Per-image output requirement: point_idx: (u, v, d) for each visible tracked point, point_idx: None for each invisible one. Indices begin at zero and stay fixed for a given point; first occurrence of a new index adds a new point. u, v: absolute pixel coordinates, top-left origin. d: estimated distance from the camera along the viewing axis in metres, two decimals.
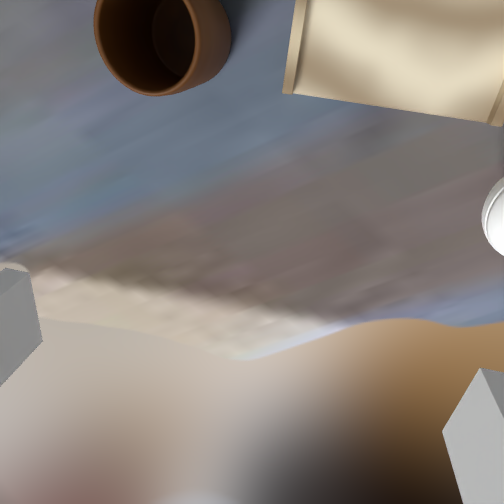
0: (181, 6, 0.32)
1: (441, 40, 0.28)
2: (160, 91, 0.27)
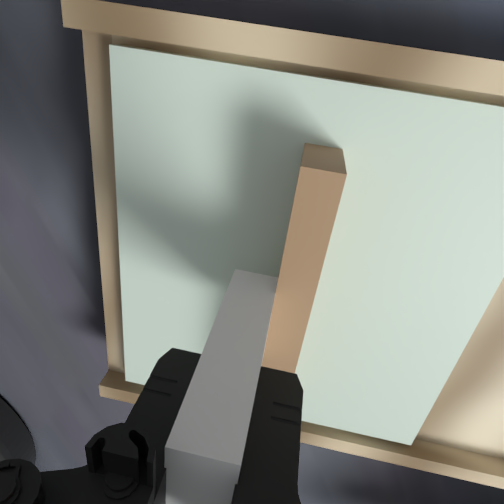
0: None
1: None
2: None
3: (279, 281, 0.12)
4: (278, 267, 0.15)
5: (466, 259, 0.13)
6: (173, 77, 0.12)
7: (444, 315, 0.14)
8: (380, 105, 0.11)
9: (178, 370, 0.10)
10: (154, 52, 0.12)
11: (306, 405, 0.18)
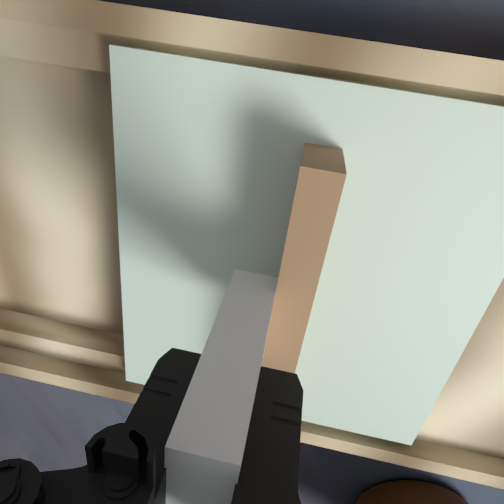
0: None
1: None
2: None
3: (279, 281, 0.12)
4: (278, 267, 0.15)
5: (466, 259, 0.13)
6: (173, 77, 0.12)
7: (444, 315, 0.14)
8: (380, 105, 0.11)
9: (178, 370, 0.10)
10: (154, 52, 0.12)
11: (306, 405, 0.18)
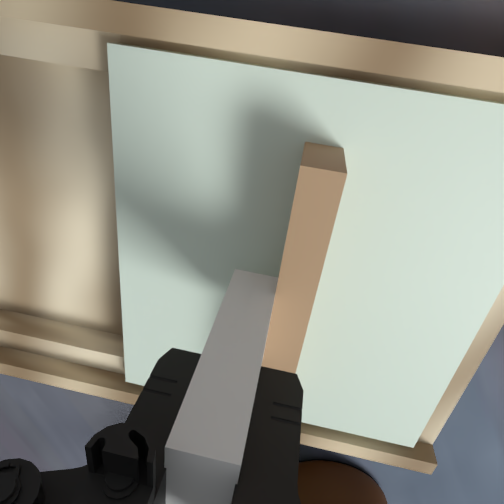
0: None
1: None
2: None
3: (279, 282, 0.12)
4: (278, 267, 0.14)
5: (469, 259, 0.13)
6: (172, 75, 0.12)
7: (447, 316, 0.14)
8: (381, 103, 0.11)
9: (178, 370, 0.10)
10: (152, 50, 0.12)
11: (307, 407, 0.18)
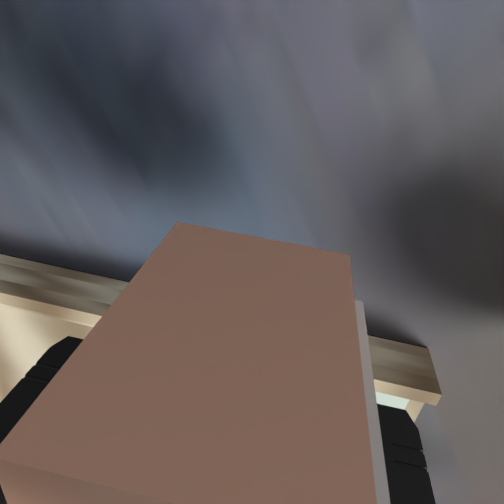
0: None
1: None
2: None
3: None
4: None
5: None
6: None
7: None
8: None
9: (67, 358, 0.10)
10: None
11: None
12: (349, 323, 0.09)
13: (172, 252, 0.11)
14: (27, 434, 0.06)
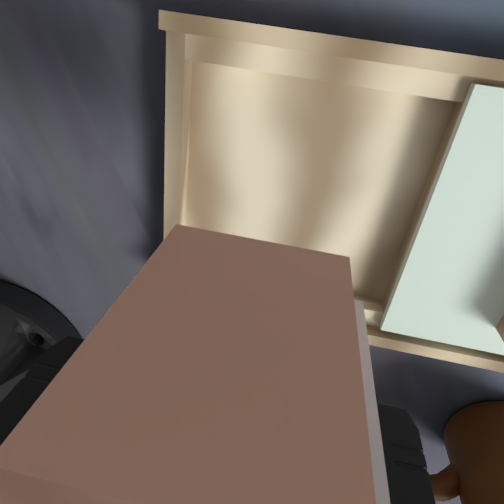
0: None
1: None
2: None
3: None
4: None
5: None
6: None
7: None
8: None
9: (67, 358, 0.10)
10: None
11: None
12: (349, 327, 0.09)
13: (171, 255, 0.11)
14: (23, 441, 0.06)
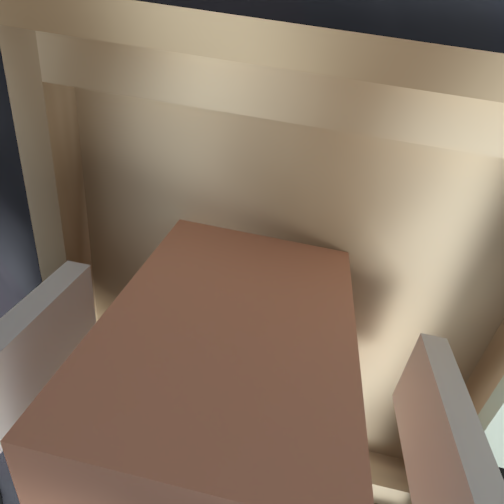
0: None
1: None
2: None
3: None
4: None
5: None
6: None
7: None
8: None
9: None
10: None
11: None
12: (347, 319, 0.09)
13: (174, 248, 0.11)
14: (35, 420, 0.06)
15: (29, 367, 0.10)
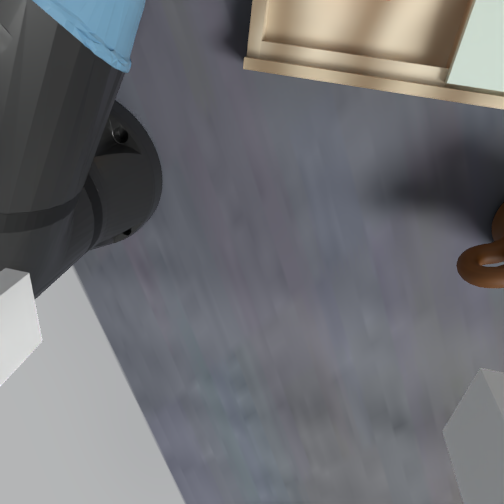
0: None
1: None
2: None
3: None
4: None
5: None
6: None
7: None
8: None
9: None
10: None
11: None
12: None
13: None
14: None
15: None
